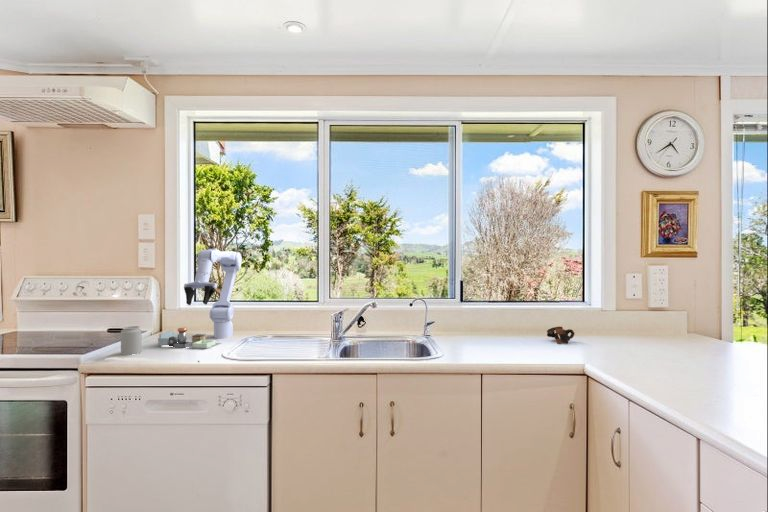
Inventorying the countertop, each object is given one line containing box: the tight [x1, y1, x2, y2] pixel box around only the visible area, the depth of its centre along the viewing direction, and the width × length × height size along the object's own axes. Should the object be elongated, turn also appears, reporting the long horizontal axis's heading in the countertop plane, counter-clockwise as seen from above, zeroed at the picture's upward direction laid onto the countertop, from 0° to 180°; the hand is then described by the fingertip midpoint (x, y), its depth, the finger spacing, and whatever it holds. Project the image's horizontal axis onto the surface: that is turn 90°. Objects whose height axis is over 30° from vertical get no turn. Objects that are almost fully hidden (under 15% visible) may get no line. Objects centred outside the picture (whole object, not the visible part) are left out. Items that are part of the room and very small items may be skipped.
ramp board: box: [173, 341, 222, 350], centre depth 198 cm, size 12×24×3 cm, turn 81°
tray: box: [192, 339, 217, 350], centre depth 195 cm, size 7×7×2 cm
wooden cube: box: [191, 333, 206, 343], centre depth 201 cm, size 4×4×4 cm
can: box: [120, 325, 143, 356], centre depth 184 cm, size 8×8×12 cm
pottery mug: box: [546, 326, 575, 345], centre depth 208 cm, size 12×10×8 cm
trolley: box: [157, 330, 179, 346], centre depth 199 cm, size 10×7×5 cm
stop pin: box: [177, 327, 188, 344], centre depth 195 cm, size 4×4×8 cm
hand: (196, 304), depth 191 cm, fingers open, 7 cm apart
